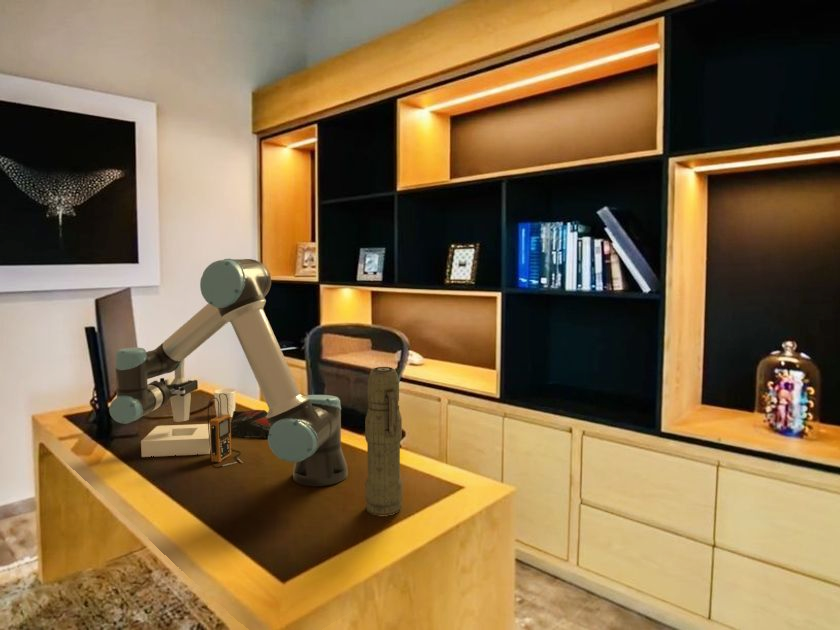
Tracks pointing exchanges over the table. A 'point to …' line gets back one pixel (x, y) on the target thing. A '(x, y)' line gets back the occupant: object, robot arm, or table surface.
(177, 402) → the low poly bottle
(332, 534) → the table surface
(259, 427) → the drone shell
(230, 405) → the white cup
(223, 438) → the multimeter
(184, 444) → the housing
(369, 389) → the thermos
